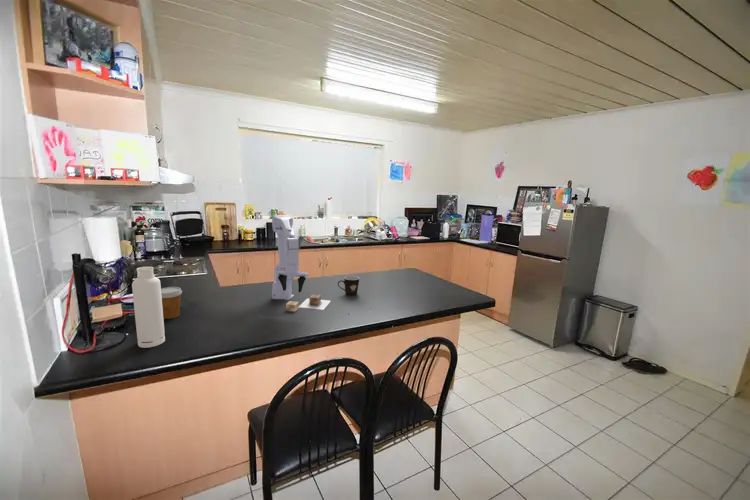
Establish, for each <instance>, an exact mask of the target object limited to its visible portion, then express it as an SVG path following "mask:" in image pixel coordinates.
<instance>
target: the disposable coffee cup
mask: <svg viewBox="0 0 750 500" xmlns="http://www.w3.org/2000/svg"><path fill="white" fill-rule="evenodd" d="M182 294H183V290H182V288H181V287H179V286H168V287H161V296H162V308H163V319H164V320H166V319H167V320H171V319H175V318H177V317H179V316H180V312H181V299H182Z"/></svg>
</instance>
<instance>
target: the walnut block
mask: <svg viewBox="0 0 750 500" xmlns="http://www.w3.org/2000/svg"><path fill="white" fill-rule="evenodd" d="M321 300H322V295H321V294H311V295H310V296H309V305H315V306H318V305H319V304H320V303H321Z"/></svg>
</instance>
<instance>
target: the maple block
mask: <svg viewBox="0 0 750 500" xmlns="http://www.w3.org/2000/svg"><path fill="white" fill-rule="evenodd" d="M299 303H300V302H299V301H294V300H293V301H291V300H288V302H286V304H285V311H286V312H292V313H295V312H296V311H297V310H299V308H300V307H299V306H300V304H299Z"/></svg>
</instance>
